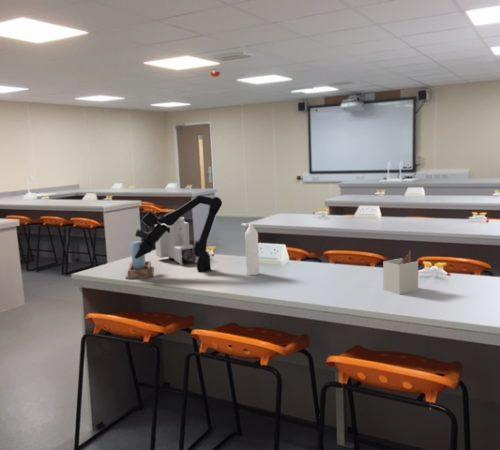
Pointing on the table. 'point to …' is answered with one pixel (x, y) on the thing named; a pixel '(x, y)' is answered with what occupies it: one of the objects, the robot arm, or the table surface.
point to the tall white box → (400, 275)
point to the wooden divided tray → (140, 271)
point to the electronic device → (176, 243)
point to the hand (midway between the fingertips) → (135, 256)
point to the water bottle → (251, 250)
